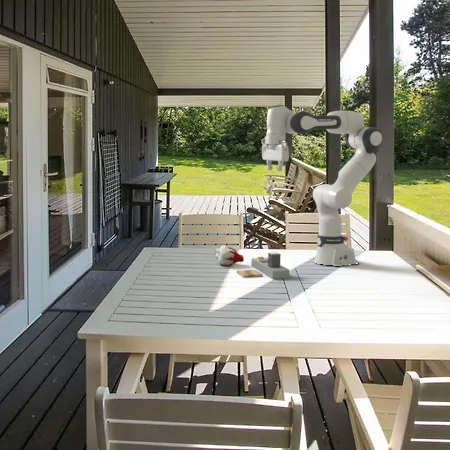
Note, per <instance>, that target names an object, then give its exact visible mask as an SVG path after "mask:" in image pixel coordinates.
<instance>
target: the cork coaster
mask: <svg viewBox="0 0 450 450" xmlns="http://www.w3.org/2000/svg"><path fill="white" fill-rule="evenodd" d="M236 274H238V275H239V276H240V277H242V278H260V277H263V273H262V272H260V271H259V270H257V269H244V270H242V269H241V270H236Z"/></svg>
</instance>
